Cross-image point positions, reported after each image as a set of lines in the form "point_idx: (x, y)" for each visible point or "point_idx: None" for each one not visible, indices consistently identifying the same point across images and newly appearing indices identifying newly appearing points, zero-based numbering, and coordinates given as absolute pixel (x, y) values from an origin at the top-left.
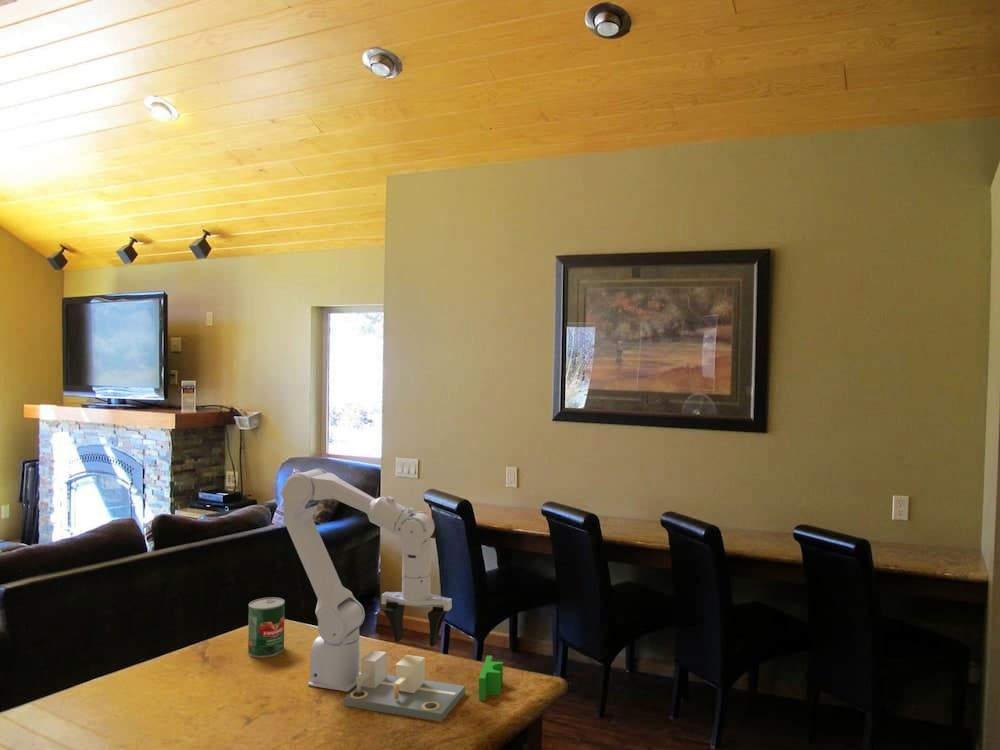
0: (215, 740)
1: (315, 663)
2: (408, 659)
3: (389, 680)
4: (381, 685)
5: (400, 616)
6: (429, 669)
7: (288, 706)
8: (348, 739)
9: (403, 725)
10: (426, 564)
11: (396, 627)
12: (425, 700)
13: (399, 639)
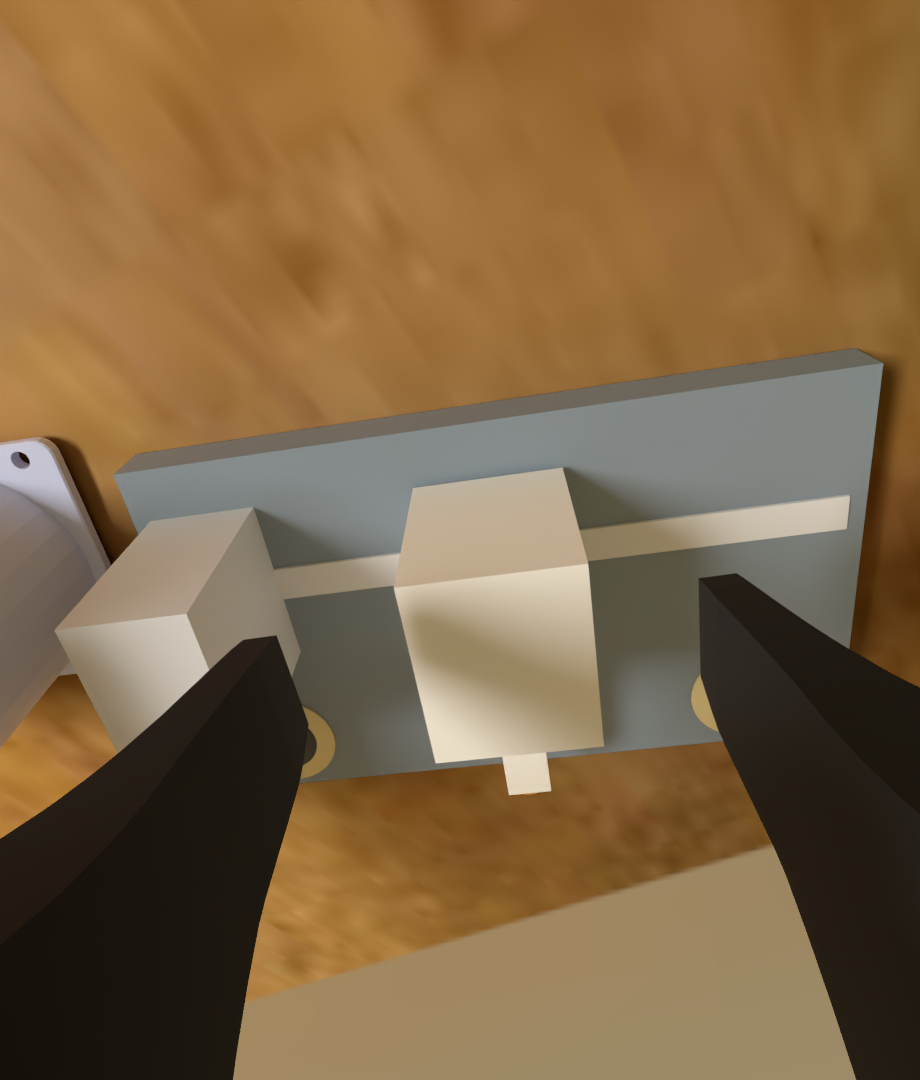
0: None
1: None
2: (471, 655)
3: (303, 531)
4: (310, 609)
5: (176, 908)
6: (364, 51)
7: None
8: (488, 919)
9: (644, 780)
10: None
11: (261, 887)
12: (683, 650)
13: (295, 705)
